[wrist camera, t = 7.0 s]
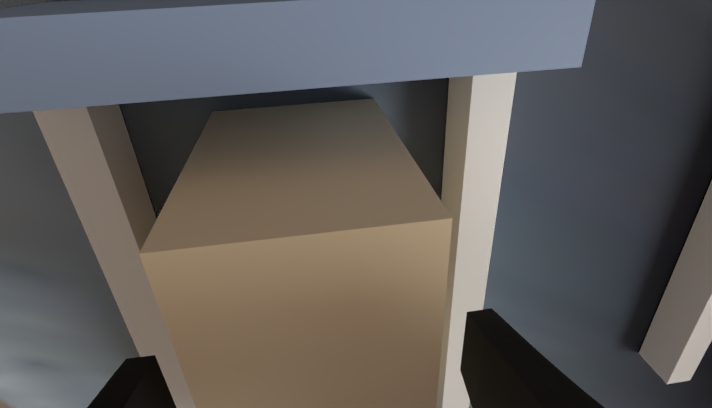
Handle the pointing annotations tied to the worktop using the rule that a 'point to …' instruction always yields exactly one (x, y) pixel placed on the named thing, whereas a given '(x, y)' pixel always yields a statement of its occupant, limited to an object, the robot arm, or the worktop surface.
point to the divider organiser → (295, 72)
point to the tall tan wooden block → (303, 262)
